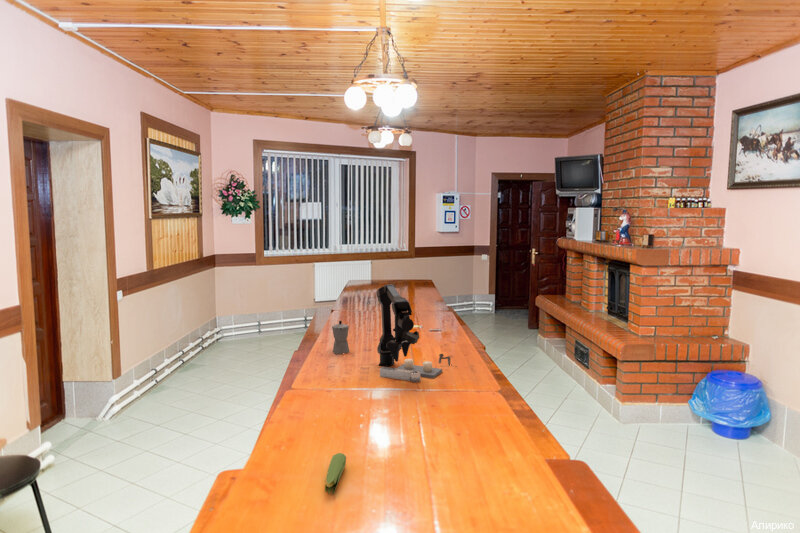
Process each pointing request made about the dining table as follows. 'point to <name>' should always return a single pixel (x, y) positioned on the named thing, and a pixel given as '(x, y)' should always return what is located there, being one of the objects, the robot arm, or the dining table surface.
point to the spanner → (400, 374)
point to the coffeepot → (340, 338)
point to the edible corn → (335, 471)
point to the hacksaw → (444, 358)
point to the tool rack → (421, 368)
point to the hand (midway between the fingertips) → (401, 358)
